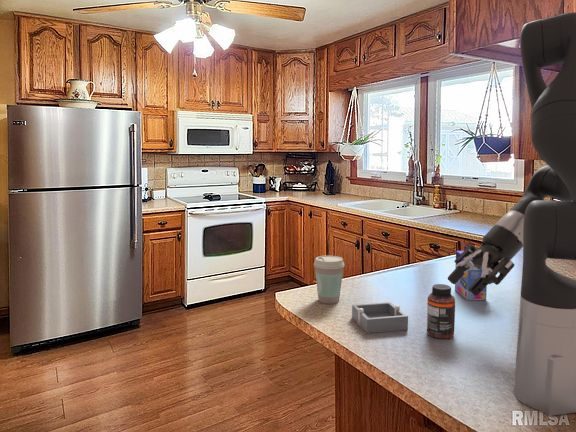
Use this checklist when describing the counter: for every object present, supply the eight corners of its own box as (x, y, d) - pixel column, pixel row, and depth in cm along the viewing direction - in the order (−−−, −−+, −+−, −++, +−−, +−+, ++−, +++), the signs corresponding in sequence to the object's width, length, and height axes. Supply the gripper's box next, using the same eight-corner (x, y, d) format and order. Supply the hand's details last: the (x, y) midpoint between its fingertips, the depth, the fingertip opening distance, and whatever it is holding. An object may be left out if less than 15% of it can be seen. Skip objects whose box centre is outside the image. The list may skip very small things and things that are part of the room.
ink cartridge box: (453, 290, 133) (455, 242, 131) (471, 289, 134) (473, 242, 132) (467, 300, 124) (469, 249, 122) (486, 300, 124) (489, 249, 122)
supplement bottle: (442, 327, 105) (444, 281, 103) (459, 337, 99) (462, 288, 98) (420, 331, 103) (422, 283, 101) (437, 341, 97) (439, 291, 96)
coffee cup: (320, 293, 130) (320, 253, 129) (348, 297, 127) (348, 256, 125) (308, 302, 123) (308, 260, 121) (338, 307, 119) (338, 263, 117)
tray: (408, 329, 104) (409, 313, 103) (365, 333, 102) (366, 316, 101) (390, 314, 114) (390, 299, 113) (351, 317, 112) (351, 302, 111)
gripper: (480, 219, 107) (434, 268, 106) (521, 229, 93) (469, 285, 93) (498, 240, 109) (453, 288, 108) (542, 252, 95) (490, 308, 94)
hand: (460, 287), depth 100 cm, fingers open, 8 cm apart
